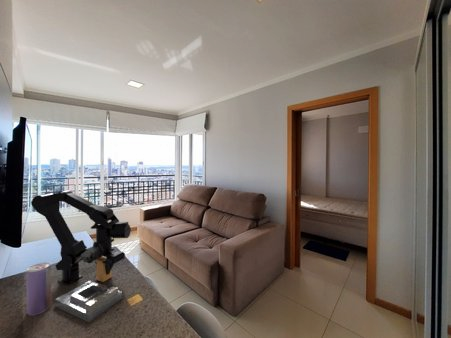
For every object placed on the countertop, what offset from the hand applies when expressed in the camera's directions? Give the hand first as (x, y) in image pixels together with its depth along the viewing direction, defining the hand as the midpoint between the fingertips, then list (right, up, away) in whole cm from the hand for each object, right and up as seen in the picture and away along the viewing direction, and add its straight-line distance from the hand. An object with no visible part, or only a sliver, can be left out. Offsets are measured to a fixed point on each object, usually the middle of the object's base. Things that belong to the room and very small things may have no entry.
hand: (104, 273), depth 84 cm
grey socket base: (+4, -3, -14) cm, 15 cm away
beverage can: (-11, -3, -18) cm, 21 cm away
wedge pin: (0, -2, 0) cm, 2 cm away
